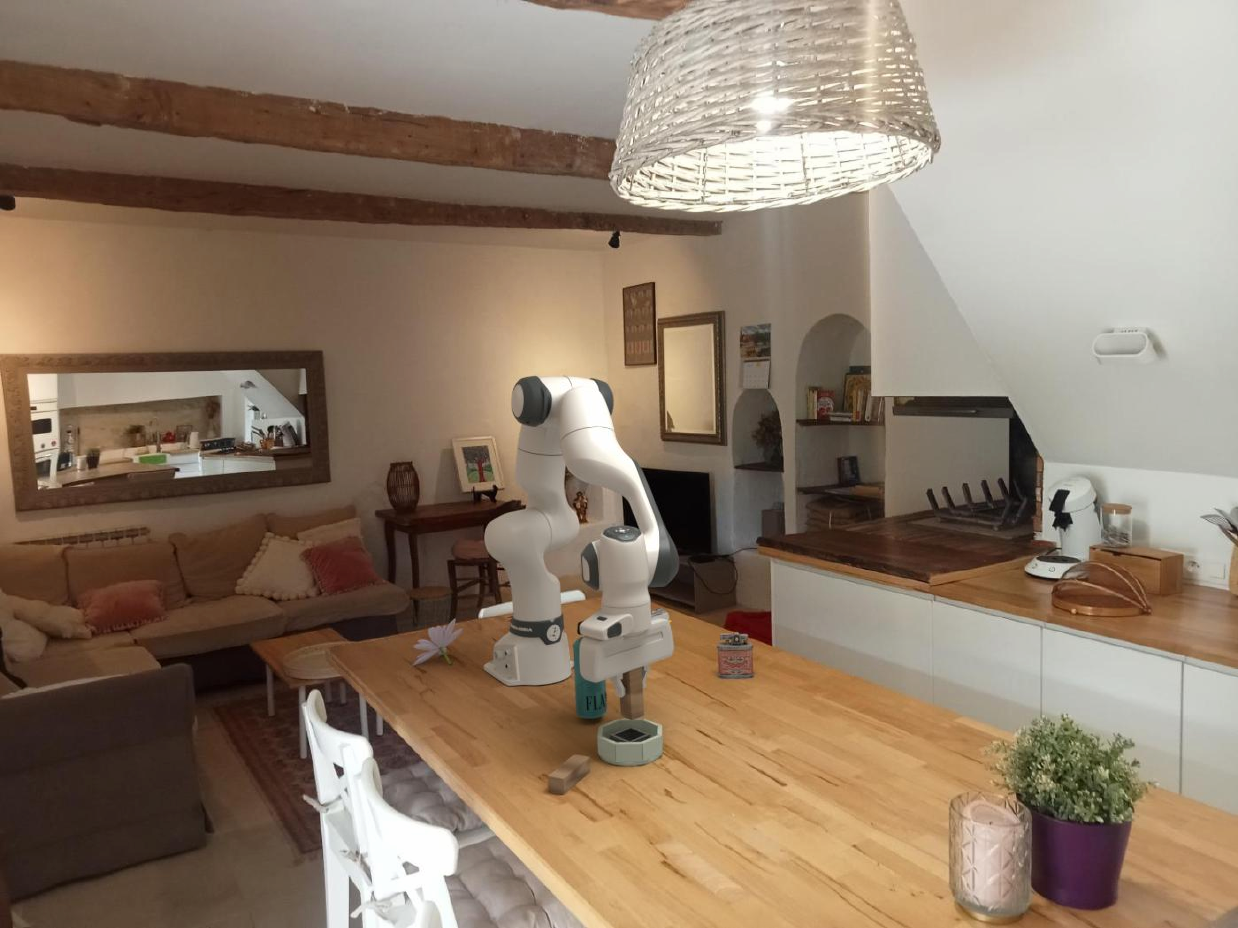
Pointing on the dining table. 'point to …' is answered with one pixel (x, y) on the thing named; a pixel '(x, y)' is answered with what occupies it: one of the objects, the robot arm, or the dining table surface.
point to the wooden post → (632, 695)
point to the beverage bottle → (587, 689)
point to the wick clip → (630, 735)
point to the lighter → (735, 657)
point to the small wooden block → (569, 774)
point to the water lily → (437, 642)
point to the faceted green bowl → (630, 743)
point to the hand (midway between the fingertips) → (630, 692)
